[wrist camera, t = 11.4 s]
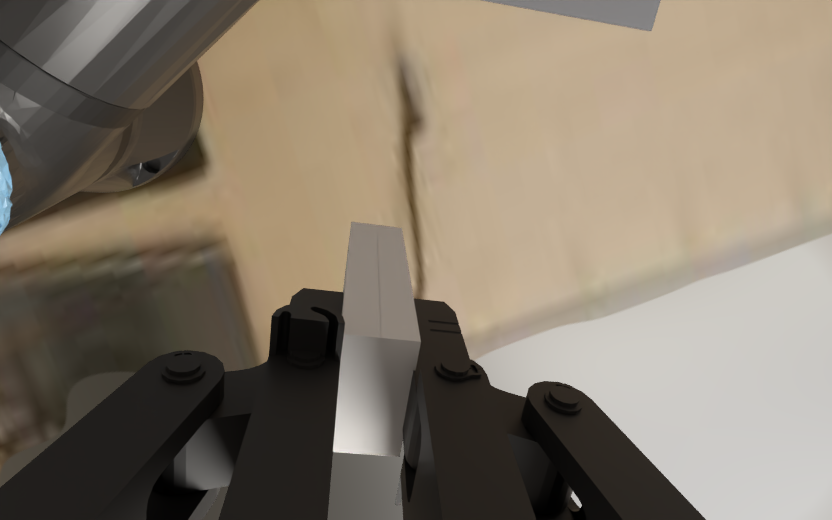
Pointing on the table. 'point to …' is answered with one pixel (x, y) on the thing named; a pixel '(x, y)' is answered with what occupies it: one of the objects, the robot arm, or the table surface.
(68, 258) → the table surface
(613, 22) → the grey mat
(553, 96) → the table surface
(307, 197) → the table surface
